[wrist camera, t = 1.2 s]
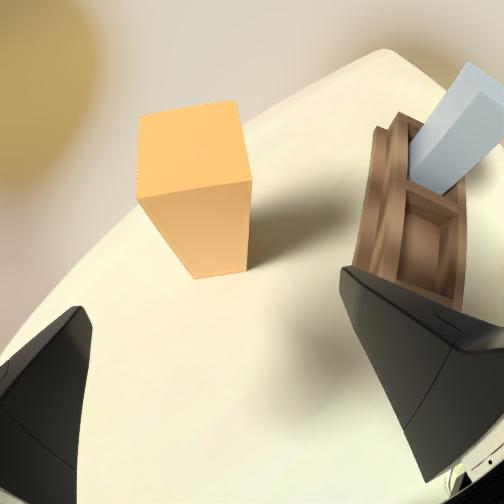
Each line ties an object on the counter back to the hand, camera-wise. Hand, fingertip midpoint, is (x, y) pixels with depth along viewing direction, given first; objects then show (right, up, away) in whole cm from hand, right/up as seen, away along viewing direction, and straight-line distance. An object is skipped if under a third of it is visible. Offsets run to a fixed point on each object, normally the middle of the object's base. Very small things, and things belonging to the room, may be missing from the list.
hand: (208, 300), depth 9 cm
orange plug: (-1, +2, +13) cm, 13 cm away
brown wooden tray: (+16, +5, +15) cm, 22 cm away
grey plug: (+17, +9, +15) cm, 25 cm away
